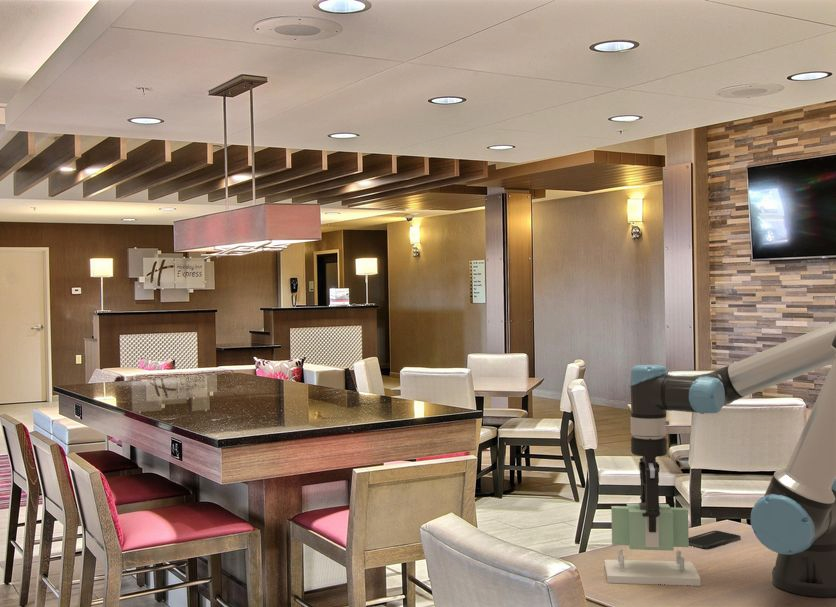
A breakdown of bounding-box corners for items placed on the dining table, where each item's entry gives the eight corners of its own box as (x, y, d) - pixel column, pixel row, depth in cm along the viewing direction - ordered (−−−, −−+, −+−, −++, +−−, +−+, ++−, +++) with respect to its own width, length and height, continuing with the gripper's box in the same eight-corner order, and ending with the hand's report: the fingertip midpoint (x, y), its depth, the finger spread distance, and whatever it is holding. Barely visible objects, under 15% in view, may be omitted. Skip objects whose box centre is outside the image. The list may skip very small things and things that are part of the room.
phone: (679, 540, 217) (715, 530, 226) (679, 545, 217) (715, 534, 226) (707, 547, 211) (742, 536, 220) (707, 551, 211) (743, 540, 220)
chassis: (692, 568, 196) (691, 546, 196) (700, 585, 184) (700, 562, 184) (604, 566, 199) (604, 543, 199) (607, 582, 187) (607, 559, 187)
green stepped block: (685, 540, 195) (684, 501, 195) (690, 551, 187) (690, 509, 187) (611, 538, 197) (610, 499, 197) (613, 548, 189) (612, 507, 189)
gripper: (672, 444, 181) (674, 555, 181) (661, 429, 201) (662, 529, 202) (635, 443, 182) (636, 554, 182) (627, 429, 203) (628, 528, 203)
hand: (650, 541), depth 192 cm, fingers closed on green stepped block, 8 cm apart
